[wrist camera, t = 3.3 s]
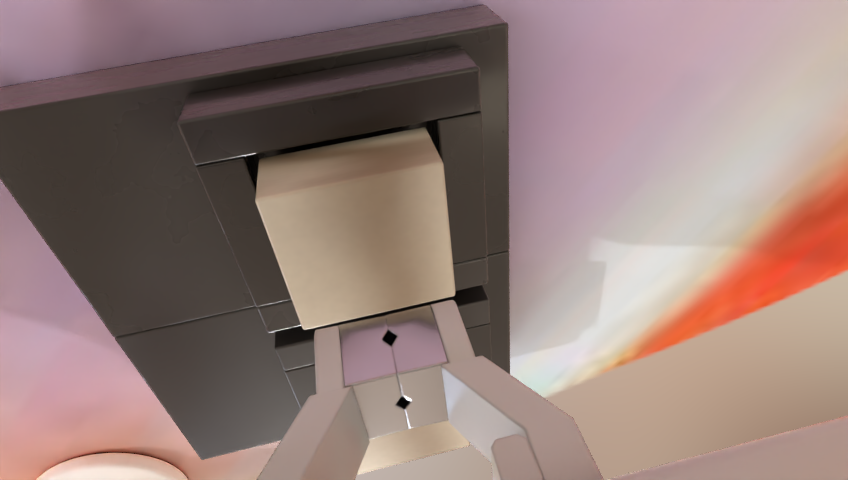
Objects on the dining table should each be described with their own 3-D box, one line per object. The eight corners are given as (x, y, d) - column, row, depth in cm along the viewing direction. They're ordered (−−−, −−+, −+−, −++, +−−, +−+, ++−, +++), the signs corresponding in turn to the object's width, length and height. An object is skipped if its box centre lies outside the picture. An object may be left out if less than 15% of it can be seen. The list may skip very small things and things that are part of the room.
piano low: (207, 417, 24) (195, 502, 21) (129, 294, 19) (97, 381, 16) (495, 348, 25) (524, 418, 22) (491, 217, 21) (527, 283, 17)
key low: (351, 427, 21) (356, 475, 19) (327, 358, 18) (331, 407, 17) (456, 401, 21) (470, 446, 20) (448, 329, 19) (463, 375, 17)
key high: (301, 283, 16) (302, 331, 14) (257, 157, 13) (253, 200, 12) (439, 252, 16) (456, 296, 15) (425, 125, 14) (444, 162, 12)
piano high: (129, 294, 19) (97, 381, 16) (-4, 87, 14) (-87, 153, 11) (491, 217, 21) (527, 283, 17) (484, 3, 16) (534, 42, 12)
